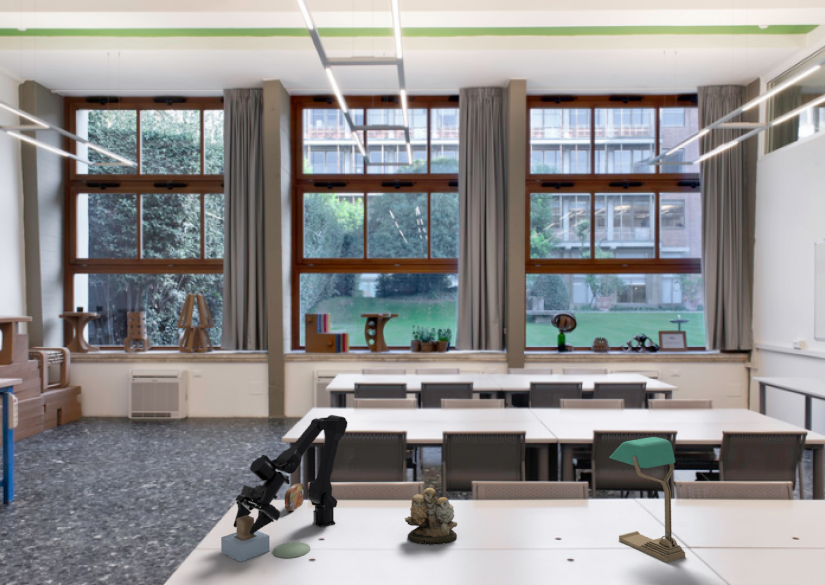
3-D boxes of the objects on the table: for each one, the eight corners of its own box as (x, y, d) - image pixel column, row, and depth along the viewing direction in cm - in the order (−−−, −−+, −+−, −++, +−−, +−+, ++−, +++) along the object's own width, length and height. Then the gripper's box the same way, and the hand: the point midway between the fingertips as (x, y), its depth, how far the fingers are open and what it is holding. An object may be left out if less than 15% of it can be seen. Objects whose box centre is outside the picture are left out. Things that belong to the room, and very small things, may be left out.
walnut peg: (247, 542, 204) (247, 515, 204) (254, 545, 201) (254, 517, 202) (236, 545, 201) (236, 518, 201) (243, 549, 198) (243, 521, 199)
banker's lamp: (658, 565, 188) (656, 450, 188) (607, 541, 207) (606, 437, 207) (693, 554, 195) (691, 444, 196) (641, 532, 214) (639, 432, 214)
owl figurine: (406, 546, 204) (405, 495, 205) (403, 533, 216) (402, 484, 217) (459, 543, 206) (458, 492, 206) (454, 530, 218) (453, 482, 218)
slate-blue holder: (250, 542, 209) (250, 527, 209) (269, 550, 202) (269, 535, 202) (221, 552, 201) (221, 537, 201) (240, 561, 194) (240, 546, 194)
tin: (290, 514, 236) (290, 492, 236) (283, 513, 237) (282, 491, 237) (305, 501, 251) (305, 480, 251) (298, 501, 252) (297, 480, 252)
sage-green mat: (304, 540, 210) (304, 539, 210) (314, 553, 199) (314, 552, 199) (269, 547, 205) (269, 546, 205) (278, 561, 194) (278, 559, 194)
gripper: (240, 470, 211) (211, 510, 202) (272, 480, 198) (243, 524, 190) (259, 487, 217) (232, 528, 208) (292, 498, 204) (264, 542, 196)
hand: (242, 530), depth 200 cm, fingers open, 9 cm apart
